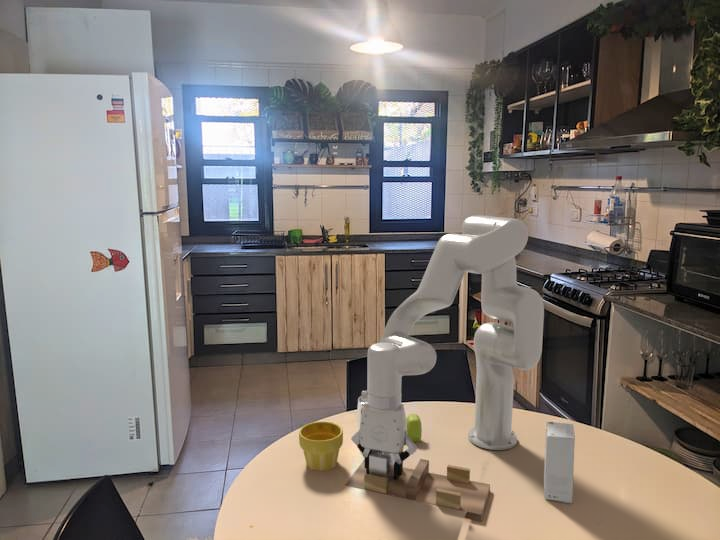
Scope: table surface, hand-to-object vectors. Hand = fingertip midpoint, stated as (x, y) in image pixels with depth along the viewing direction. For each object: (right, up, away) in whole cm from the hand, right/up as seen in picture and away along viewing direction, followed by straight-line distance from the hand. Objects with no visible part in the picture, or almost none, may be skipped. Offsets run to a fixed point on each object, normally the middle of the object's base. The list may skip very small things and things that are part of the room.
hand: (383, 473), depth 128 cm
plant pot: (-15, -2, +7) cm, 16 cm away
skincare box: (+39, -3, -3) cm, 39 cm away
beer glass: (-3, -1, +13) cm, 13 cm away
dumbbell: (+3, +1, +21) cm, 21 cm away
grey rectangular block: (0, -1, 0) cm, 1 cm away
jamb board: (+8, -3, -2) cm, 8 cm away
